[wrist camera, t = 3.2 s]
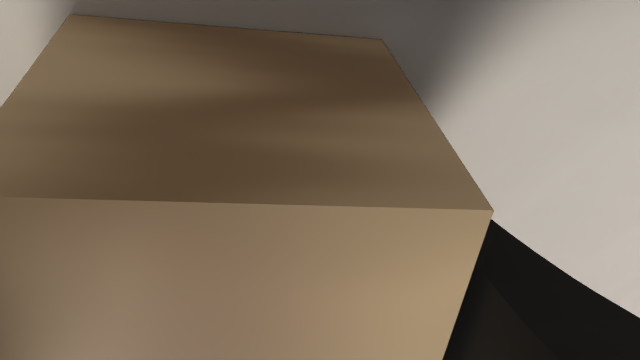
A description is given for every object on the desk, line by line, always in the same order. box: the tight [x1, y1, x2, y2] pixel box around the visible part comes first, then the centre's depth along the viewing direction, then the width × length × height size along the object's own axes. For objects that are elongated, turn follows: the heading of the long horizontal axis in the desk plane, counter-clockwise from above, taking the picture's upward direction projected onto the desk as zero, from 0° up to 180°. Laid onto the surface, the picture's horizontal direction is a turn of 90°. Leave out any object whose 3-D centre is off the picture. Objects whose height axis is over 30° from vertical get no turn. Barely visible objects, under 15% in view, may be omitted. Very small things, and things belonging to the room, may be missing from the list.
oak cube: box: [0, 15, 494, 360], centre depth 9 cm, size 5×5×5 cm
